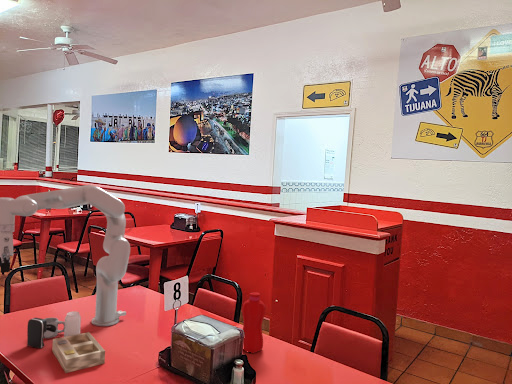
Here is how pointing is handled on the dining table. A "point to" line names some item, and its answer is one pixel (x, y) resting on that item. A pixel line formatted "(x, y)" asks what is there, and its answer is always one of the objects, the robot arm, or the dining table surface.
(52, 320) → the mug
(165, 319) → the dining table surface
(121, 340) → the dining table surface
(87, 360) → the holder block
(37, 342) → the battery charger
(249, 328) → the water bottle
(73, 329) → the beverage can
